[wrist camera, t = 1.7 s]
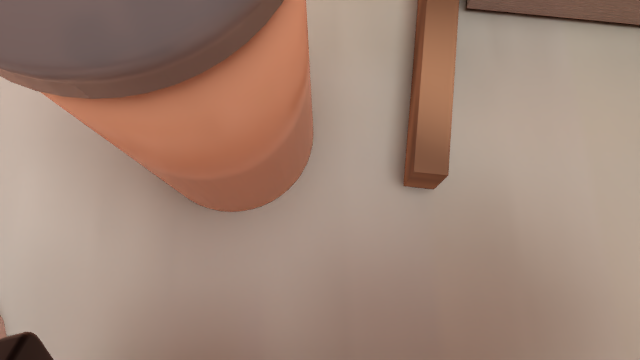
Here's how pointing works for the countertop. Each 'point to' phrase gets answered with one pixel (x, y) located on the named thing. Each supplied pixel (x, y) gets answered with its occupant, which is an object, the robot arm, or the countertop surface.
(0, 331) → the dish
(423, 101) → the brown wooden frame
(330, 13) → the countertop surface
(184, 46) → the jar
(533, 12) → the pusher
